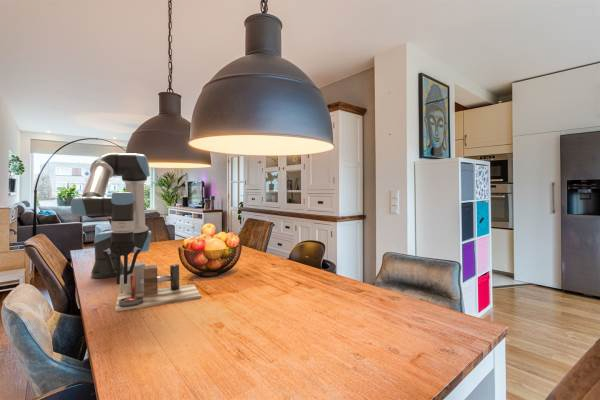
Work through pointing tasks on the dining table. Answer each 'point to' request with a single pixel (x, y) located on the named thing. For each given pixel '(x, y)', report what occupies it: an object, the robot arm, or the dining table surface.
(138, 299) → the handwheel
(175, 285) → the t-handle
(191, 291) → the block
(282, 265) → the dining table surface
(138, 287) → the beige solid cylinder
